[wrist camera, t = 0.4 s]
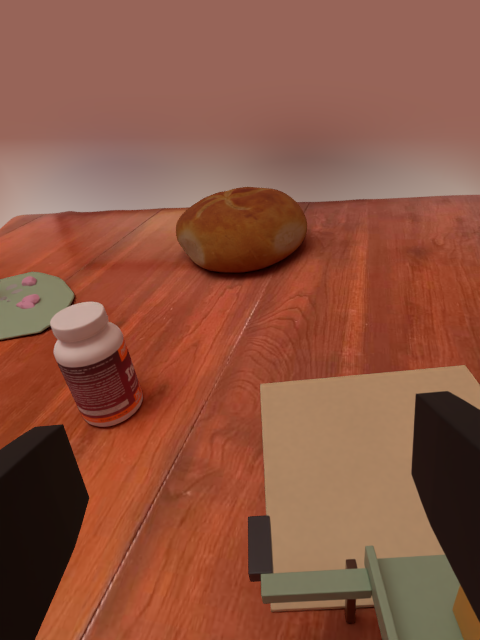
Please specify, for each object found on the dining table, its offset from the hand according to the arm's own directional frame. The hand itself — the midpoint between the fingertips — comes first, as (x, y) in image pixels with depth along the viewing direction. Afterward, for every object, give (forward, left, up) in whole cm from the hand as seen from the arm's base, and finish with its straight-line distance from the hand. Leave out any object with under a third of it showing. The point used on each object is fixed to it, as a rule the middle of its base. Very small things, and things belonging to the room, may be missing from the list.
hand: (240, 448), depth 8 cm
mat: (+15, -9, -21) cm, 28 cm away
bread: (+61, +3, -21) cm, 65 cm away
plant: (+49, +40, -21) cm, 67 cm away
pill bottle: (+24, +16, -21) cm, 36 cm away
